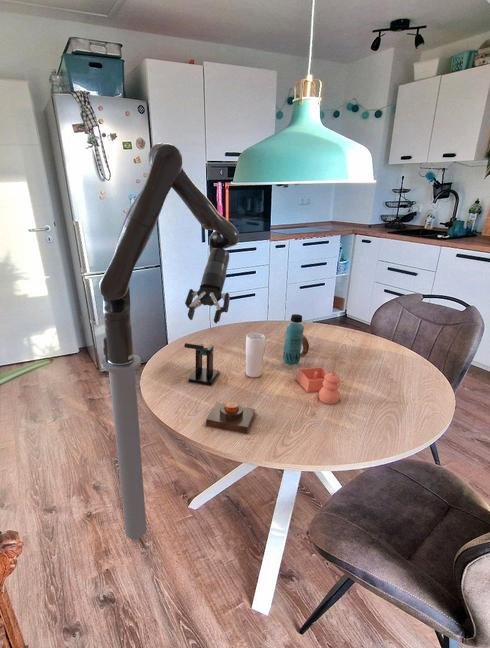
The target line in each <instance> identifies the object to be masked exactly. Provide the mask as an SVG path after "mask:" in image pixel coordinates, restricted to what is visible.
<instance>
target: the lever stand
mask: <svg viewBox="0 0 490 648" xmlns="http://www.w3.org/2000/svg"><path fill="white" fill-rule="evenodd" d="M198 345H203V346H204V344H203V343H198ZM207 348H208V349H207V356H206V367H203V355H201V354H200V351H198V350H196V349H195V370H194V371H193V373H192V374H191V376H189V378H188V383H193V384H199V385H204V386H211V385H213V384H214V381H216V379H217V377H218V375H219V374H220V370H219V369H214V344H213V345H212V344H210V346H209V347H207Z"/></svg>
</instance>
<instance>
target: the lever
mask: <svg viewBox="0 0 490 648" xmlns="http://www.w3.org/2000/svg"><path fill="white" fill-rule="evenodd" d="M183 347H184V348H186V349H192V350H195V351H196V350H198V351H200V354H201V355H202V356H205V357H207V349H208V348H209V347H205V346H204V344H203V345H199V344H195V343H188V342H185V343H184V346H183Z"/></svg>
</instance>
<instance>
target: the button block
mask: <svg viewBox="0 0 490 648" xmlns="http://www.w3.org/2000/svg"><path fill="white" fill-rule="evenodd" d="M226 403H227V402H226ZM226 403H225V402H218V401H217V402H215V404H214V406H213V407H212V408H211V410H210V413H209V414H208V416H207V417H206V419H205V426H206V427H210V428H215V429H221V430H225V431H230V432H236V433H241V434H246V435H247V434H249V431H250V428H251V426H252V423H253V421H254V418H255V416H256V415H255V414H256V408H252V407H248V406H247V407H246V406H242V405H241V404H239V403H237V404H238V411H237V412H235V413H230V412H227V411H226V410H225V404H226Z"/></svg>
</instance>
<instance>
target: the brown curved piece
mask: <svg viewBox="0 0 490 648" xmlns="http://www.w3.org/2000/svg"><path fill="white" fill-rule="evenodd" d="M285 339H286V332H285V334H284V340H285ZM309 344H310V343H309V341H308V338H307V337H306V335H305V334H303V338H302V346H301V347H302V348H301V353H300V356H305V355H307V354H308V353H309V350H310V345H309Z"/></svg>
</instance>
